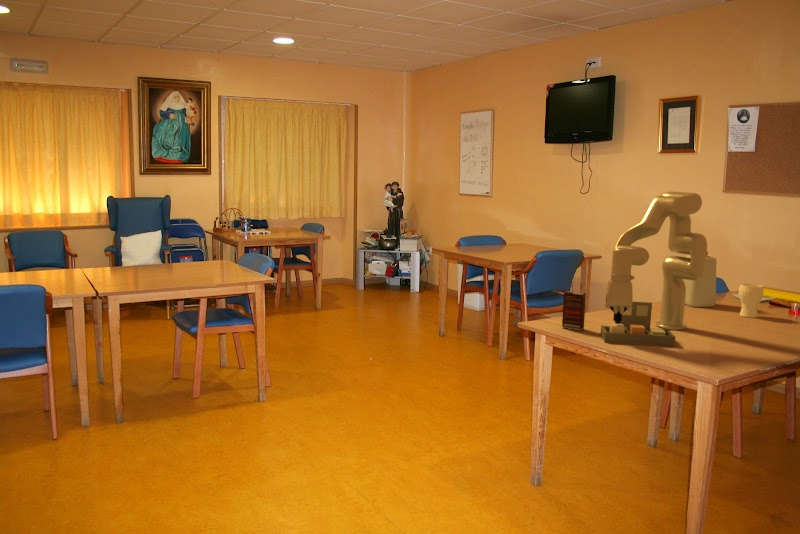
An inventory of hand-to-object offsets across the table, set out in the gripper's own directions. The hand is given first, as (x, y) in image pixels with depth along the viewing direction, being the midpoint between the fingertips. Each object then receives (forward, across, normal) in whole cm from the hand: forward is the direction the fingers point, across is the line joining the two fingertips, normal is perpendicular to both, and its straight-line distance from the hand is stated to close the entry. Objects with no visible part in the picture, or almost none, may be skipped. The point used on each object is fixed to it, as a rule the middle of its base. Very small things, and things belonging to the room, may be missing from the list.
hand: (617, 322), depth 283 cm
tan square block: (+4, 0, 0) cm, 5 cm away
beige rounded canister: (+7, -53, -85) cm, 101 cm away
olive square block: (+6, -16, 0) cm, 17 cm away
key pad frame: (+7, -8, 0) cm, 11 cm away
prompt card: (+7, -8, -11) cm, 15 cm away
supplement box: (+7, +16, -15) cm, 23 cm away
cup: (+7, -71, -62) cm, 95 cm away
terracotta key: (+4, -8, 0) cm, 9 cm away
